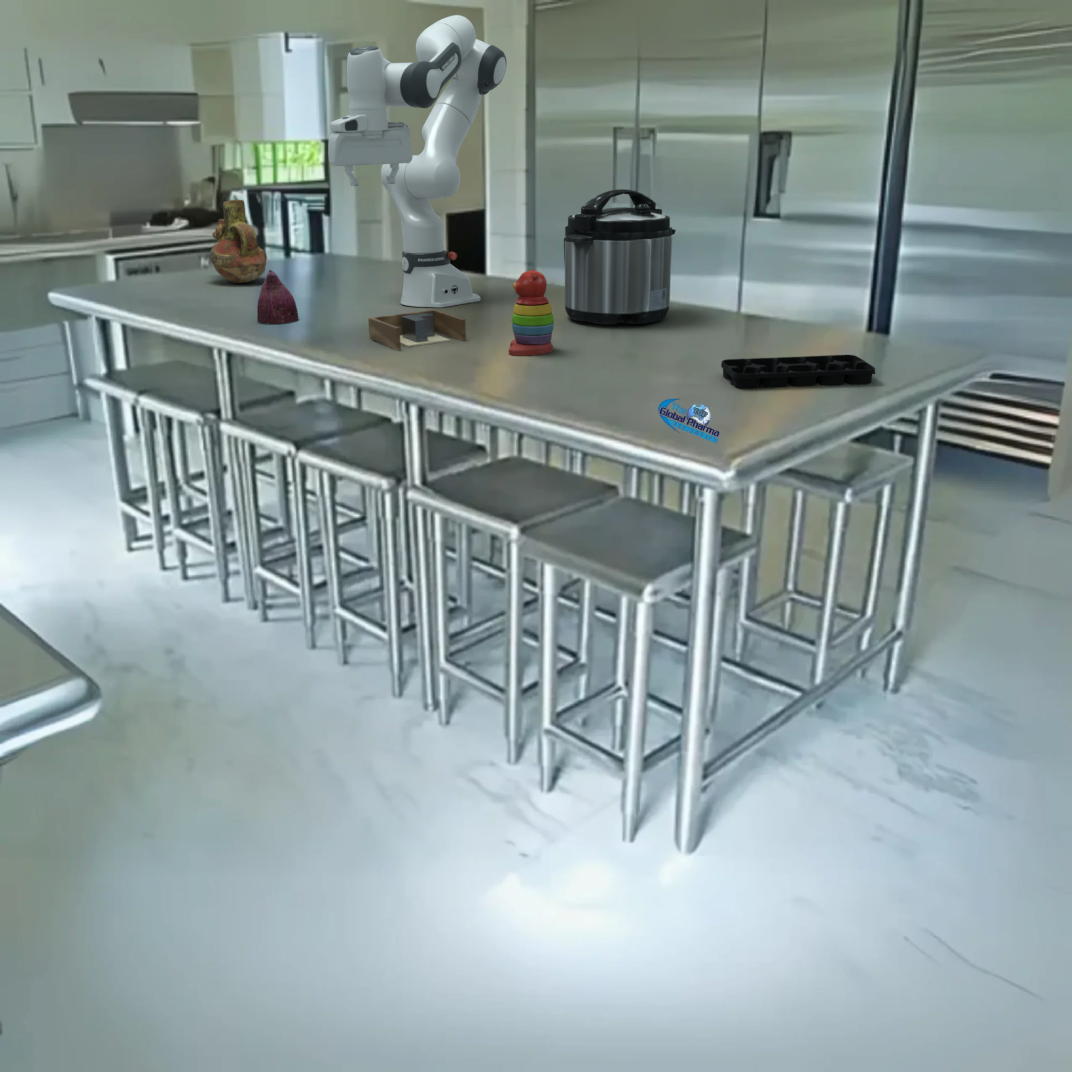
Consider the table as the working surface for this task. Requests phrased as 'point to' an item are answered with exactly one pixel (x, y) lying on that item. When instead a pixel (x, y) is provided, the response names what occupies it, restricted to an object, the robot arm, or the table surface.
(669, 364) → the table surface
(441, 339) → the pad
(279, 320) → the vegetable
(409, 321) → the bracket
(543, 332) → the stacking bear
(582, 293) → the pressure cooker
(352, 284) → the table surface
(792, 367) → the black plastic tray
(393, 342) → the bay
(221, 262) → the ceramic vessel
